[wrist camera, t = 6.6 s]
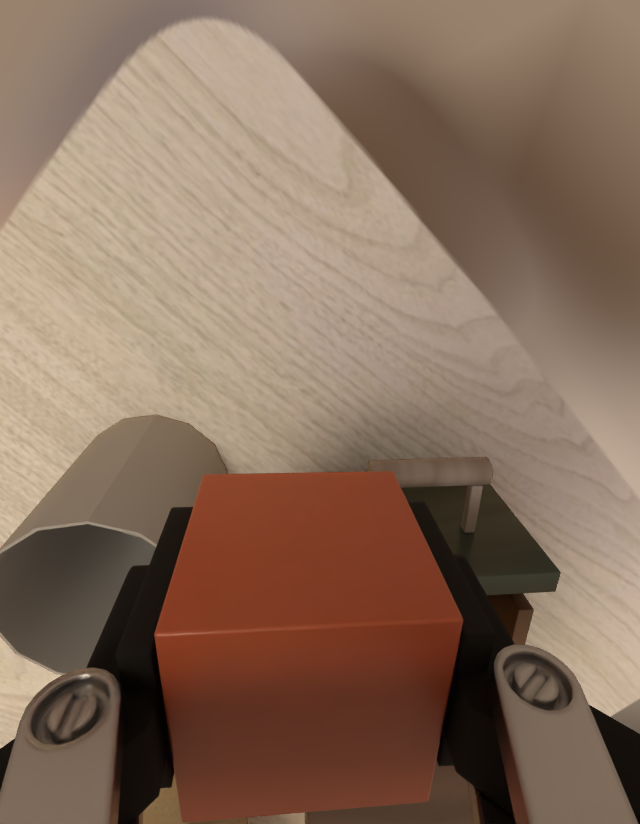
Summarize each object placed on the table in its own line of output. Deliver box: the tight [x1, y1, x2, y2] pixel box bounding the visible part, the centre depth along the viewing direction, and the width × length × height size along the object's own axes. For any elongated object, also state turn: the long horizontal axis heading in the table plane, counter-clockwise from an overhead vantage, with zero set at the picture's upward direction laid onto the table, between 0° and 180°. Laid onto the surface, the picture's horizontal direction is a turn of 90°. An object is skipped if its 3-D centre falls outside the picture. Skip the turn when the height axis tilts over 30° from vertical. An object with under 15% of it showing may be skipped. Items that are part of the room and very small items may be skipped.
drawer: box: [367, 457, 561, 645], centre depth 26 cm, size 18×11×8 cm, turn 179°
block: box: [154, 471, 463, 823], centre depth 9 cm, size 4×4×4 cm
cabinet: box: [305, 760, 473, 824], centre depth 31 cm, size 15×13×10 cm
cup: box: [0, 415, 227, 675], centre depth 23 cm, size 8×8×10 cm
